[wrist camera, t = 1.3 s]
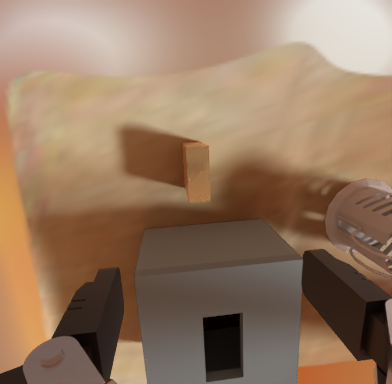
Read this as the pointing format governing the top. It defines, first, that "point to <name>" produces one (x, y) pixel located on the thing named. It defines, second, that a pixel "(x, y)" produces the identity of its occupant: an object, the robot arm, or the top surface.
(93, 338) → the robot arm
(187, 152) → the wooden block
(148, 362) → the box
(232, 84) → the top surface
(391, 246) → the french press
